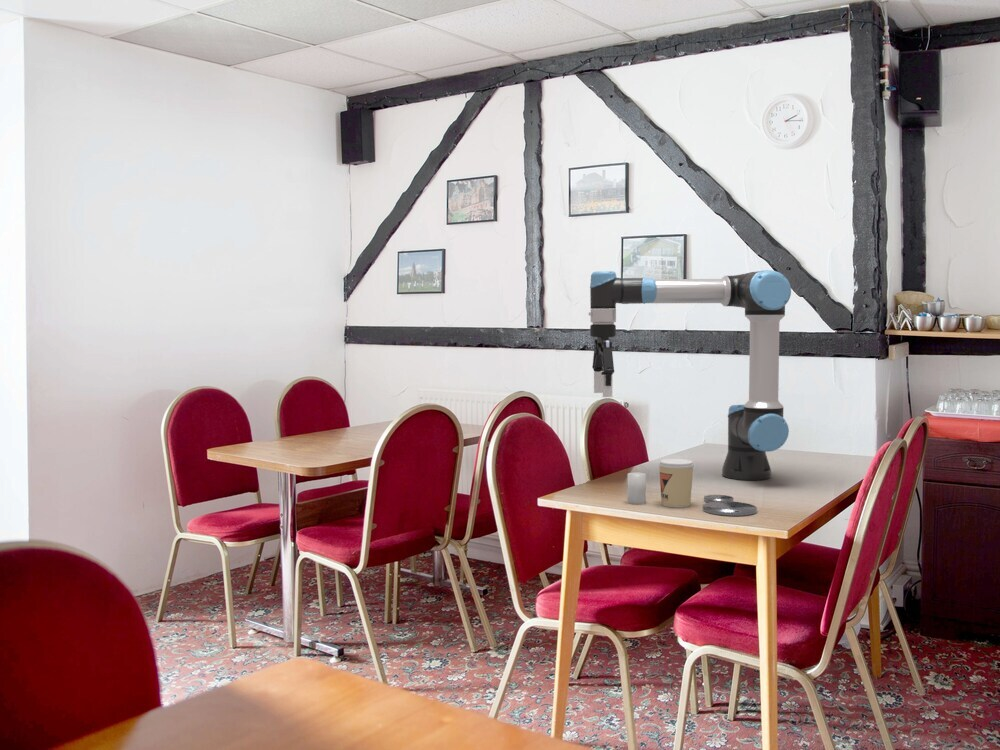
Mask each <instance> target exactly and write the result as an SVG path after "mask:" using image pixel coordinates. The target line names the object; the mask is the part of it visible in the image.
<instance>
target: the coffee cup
mask: <svg viewBox="0 0 1000 750" xmlns="http://www.w3.org/2000/svg"><path fill="white" fill-rule="evenodd" d="M694 464H695V463H693V460H690V459H685V458H664V459H661V460H659V463H658V466H659V482H660V483H659V485H660V499H661V505H662V506H664V507H667V508H677V509H678V508H679V509H680V508H688V507H690V506H691V501H692V500H691V499H692V497H691V496H692V487H693V474H694V473H693V471H694Z"/></svg>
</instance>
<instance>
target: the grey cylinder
mask: <svg viewBox="0 0 1000 750" xmlns="http://www.w3.org/2000/svg"><path fill="white" fill-rule="evenodd" d="M646 493H647V474H646V473H644V472H639V471H638V472H629V473H627V503H628V504H630V505H645V504H646V502H647V501H646V499H647V494H646Z"/></svg>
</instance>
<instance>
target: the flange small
mask: <svg viewBox="0 0 1000 750" xmlns="http://www.w3.org/2000/svg"><path fill="white" fill-rule="evenodd" d="M718 501H730V502H734V497H732V496H730V495H726V494H707V495H704V496H703V502H704V503H709V502H718Z"/></svg>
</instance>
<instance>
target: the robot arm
mask: <svg viewBox="0 0 1000 750" xmlns="http://www.w3.org/2000/svg"><path fill="white" fill-rule="evenodd" d="M787 278H788V277H786V276H785V275H784V274H782V273H781V272H779V271H776V270H770V269H766V270H759V271H758V270H757V271H751V272H747V273H742V274H734V275H723V277H721V278H687V279H686V278H685V279H684V278H682V279H680V278H678V279H677V278H674V279H673V278H672V279H671V278H668V279H667V278H665V279H662V278H660V279H659V278H658V279H657V278H653V277H629V278H628V277H627V278H625V277H624V278H623V277H617V273H616V272H615V271H612V270H610V271H609V270H603V271H602V270H601V271H600V270H599V271H597V270H596V271H593V272H592V273H591V274H590V286H589V292H590V296H589V297H590V298H589V299H590V312H588V316H590V323H592V324H590V326H589V327H590V330H589V331H590V337H591V338H595V339H594V341H593V342H594V347H593V348H594V349H593V358H592V369H593V393H594V394H602V398H613V374H615V365H614V355H613V341H612V339H611V340H610V338H615V337H616V335H617V332H616V331H617V330H616V327H617V326H616V324H615V323H616V322H617V309H616V306H617V304H620V305H628V304H631V305H634V304H644V305H645V304H720V305H722V306H723V307H734V308H741V309H744V317H746V318H747V320H748V321H749V360H748V361H749V364H748V365H749V366H748V367H749V370H748V371H749V373H748V381H749V383H748V401H746V402H745V403H744V404H732V405H730V406H729V408H728V413H727V423H728V424H727V453H726V456H725V460H724V461H723V465H722V468H721V476H723V477H725V478H727V479H732V480H733V479H734V480H739V481H741V480H742V481H761V480H768V479H771V478H772V469H771V465H770V462H769V459H768V456H767V453H768V452H774V451H776V450H779V449H780V448H781V447H783V445H785V443H786V442H787V440H788V438H789V432H790V431H789V425H788V423H787V421H786V419H785V418H784V405H783V403H781V402H780V401H779V380H780V379H779V378H780V376H779V372H780V322H781V320H782V319H784V317H785V316H786V305H787V304H788V303H789V300H790V298H791V296H792V288H791V284H790V282H789V279H787ZM766 452H767V453H766Z"/></svg>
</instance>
